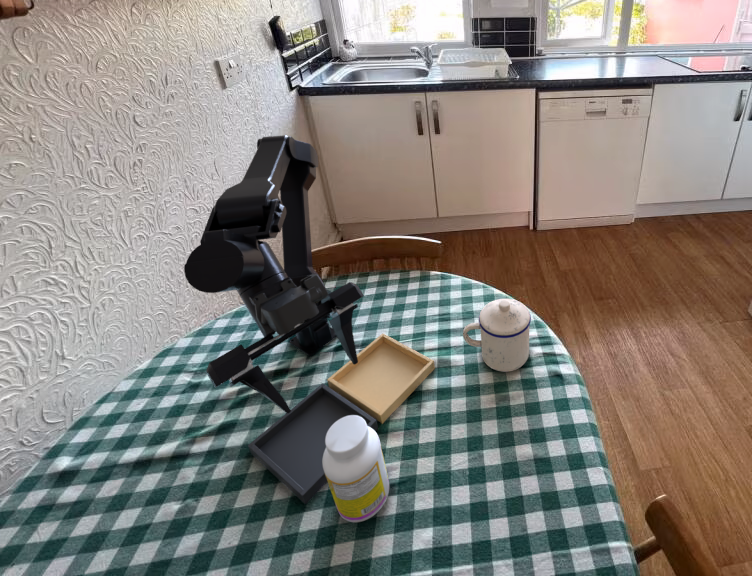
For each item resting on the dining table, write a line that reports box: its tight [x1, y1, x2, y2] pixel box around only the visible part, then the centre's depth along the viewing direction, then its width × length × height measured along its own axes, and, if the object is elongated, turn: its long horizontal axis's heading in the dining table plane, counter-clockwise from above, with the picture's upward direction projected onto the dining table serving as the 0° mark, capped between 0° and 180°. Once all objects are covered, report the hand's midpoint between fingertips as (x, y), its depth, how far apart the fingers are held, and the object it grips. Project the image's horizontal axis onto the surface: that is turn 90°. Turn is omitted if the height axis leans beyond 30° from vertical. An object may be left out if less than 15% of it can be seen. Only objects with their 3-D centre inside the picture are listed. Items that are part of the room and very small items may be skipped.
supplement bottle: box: [322, 415, 390, 523], centre depth 51 cm, size 7×7×13 cm
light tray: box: [326, 332, 436, 425], centre depth 71 cm, size 13×12×2 cm
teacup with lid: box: [462, 298, 532, 373], centre depth 73 cm, size 12×9×12 cm
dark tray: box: [247, 383, 379, 505], centre depth 61 cm, size 13×12×2 cm
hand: (324, 386), depth 54 cm, fingers open, 9 cm apart
